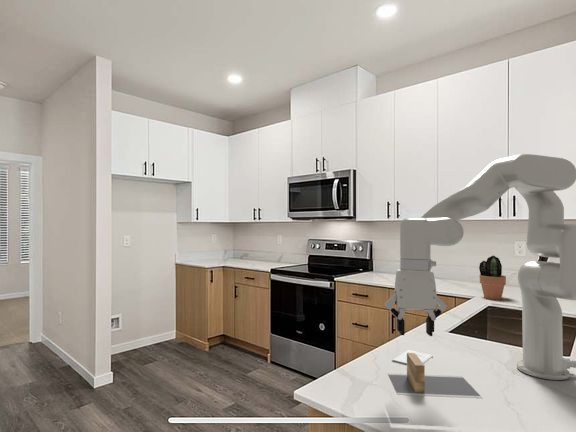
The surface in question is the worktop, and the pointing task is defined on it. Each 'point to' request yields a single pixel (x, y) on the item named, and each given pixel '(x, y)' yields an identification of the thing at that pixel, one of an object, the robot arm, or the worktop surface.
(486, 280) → the potted plant
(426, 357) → the external hard drive
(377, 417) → the worktop surface
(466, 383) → the mat
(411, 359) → the wooden block
